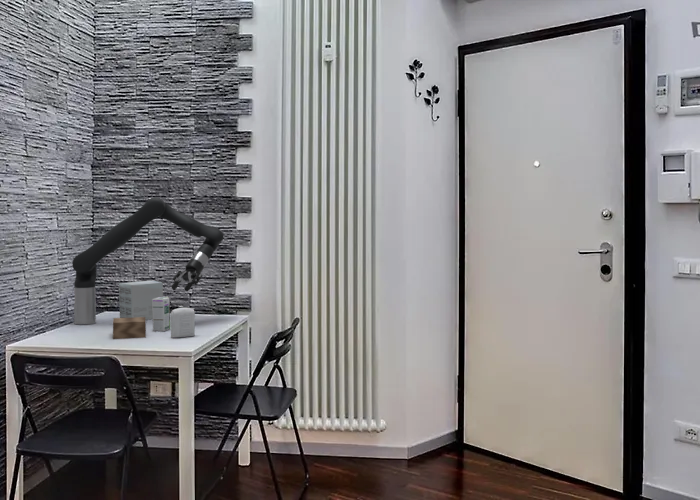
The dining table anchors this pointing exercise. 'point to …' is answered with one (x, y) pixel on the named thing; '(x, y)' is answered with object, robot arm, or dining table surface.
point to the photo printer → (182, 322)
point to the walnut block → (129, 328)
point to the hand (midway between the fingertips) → (179, 289)
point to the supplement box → (138, 298)
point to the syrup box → (161, 313)
